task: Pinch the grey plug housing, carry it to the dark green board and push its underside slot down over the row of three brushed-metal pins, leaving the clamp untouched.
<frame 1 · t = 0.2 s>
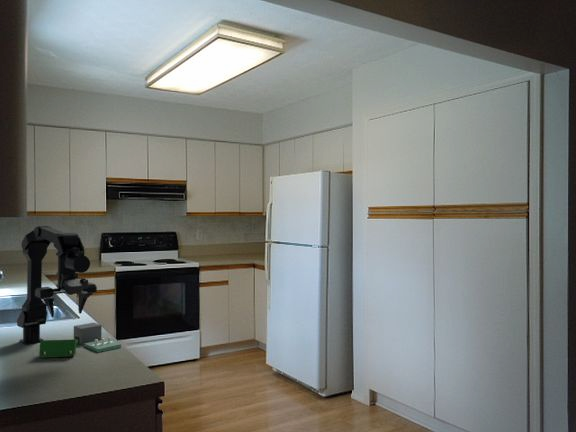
hand: (66, 315, 170), 14 cm above the counter, fingers open, 9 cm apart
plug housing: (87, 341, 190), on the counter
pin board: (102, 347, 183), on the counter
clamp: (59, 355, 173), on the counter
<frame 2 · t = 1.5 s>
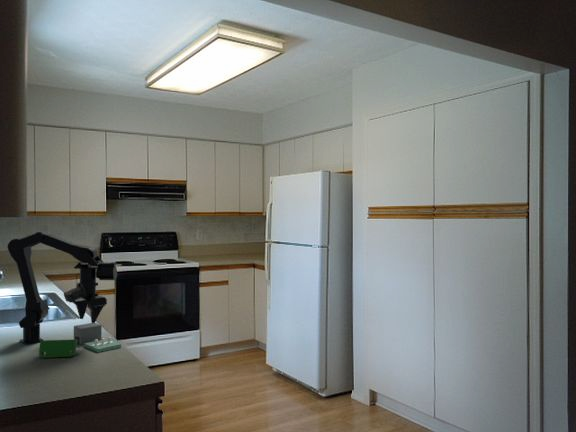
hand: (87, 321, 190), 8 cm above the counter, fingers open, 9 cm apart
nothing on the counter moved.
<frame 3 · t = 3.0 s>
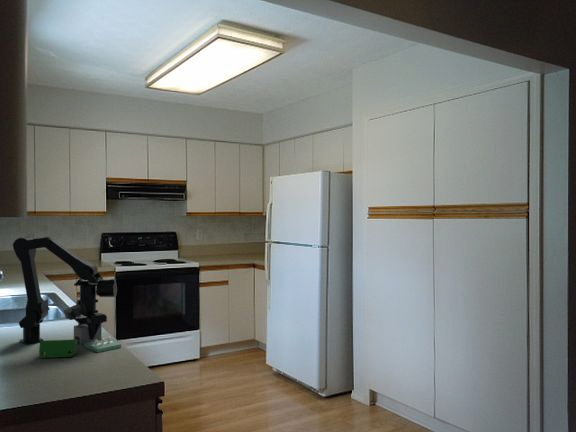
hand: (87, 337, 190), 1 cm above the counter, fingers closed on plug housing, 6 cm apart
plug housing: (87, 341, 190), on the counter, touching gripper
everything else where it was.
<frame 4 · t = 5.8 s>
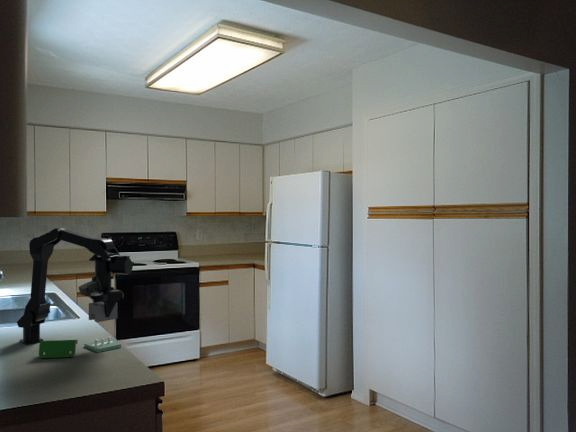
hand: (102, 315, 183), 11 cm above the counter, fingers closed on plug housing, 6 cm apart
plug housing: (103, 319, 183), point 10 cm above the counter, touching gripper
everything else where it was.
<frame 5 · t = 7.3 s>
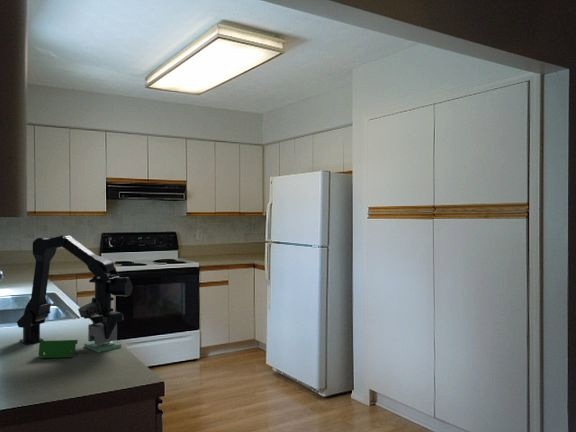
hand: (102, 337, 183), 4 cm above the counter, fingers closed on plug housing, 6 cm apart
plug housing: (102, 340, 183), point 2 cm above the counter, touching gripper
everything else where it was.
when the fingers open (3 cm above the counter, at t = 8.6 s): plug housing stays where it is, resting on pin board.
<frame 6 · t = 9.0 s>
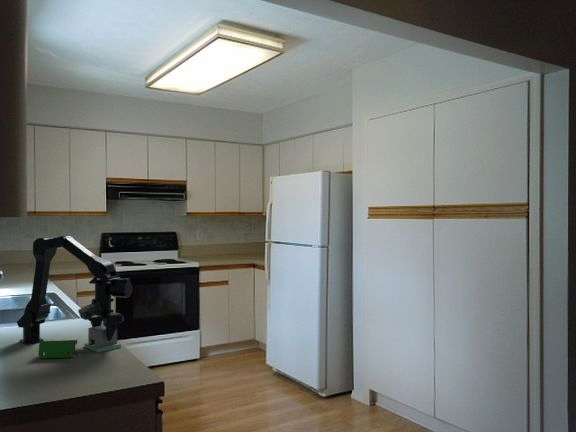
hand: (102, 338, 183), 3 cm above the counter, fingers open, 9 cm apart
plug housing: (102, 343, 183), point 1 cm above the counter, touching pin board
everything else where it was.
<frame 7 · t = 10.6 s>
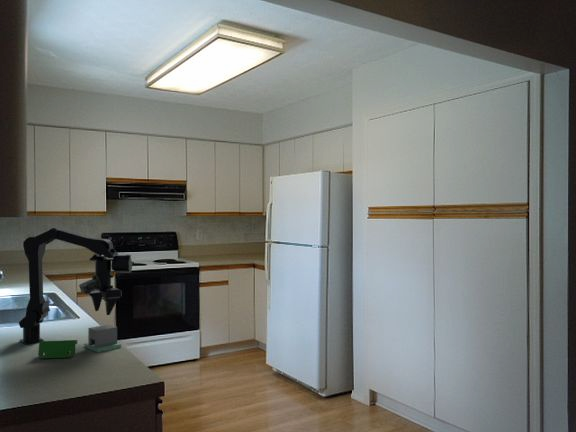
hand: (102, 313, 191), 11 cm above the counter, fingers open, 9 cm apart
nothing on the counter moved.
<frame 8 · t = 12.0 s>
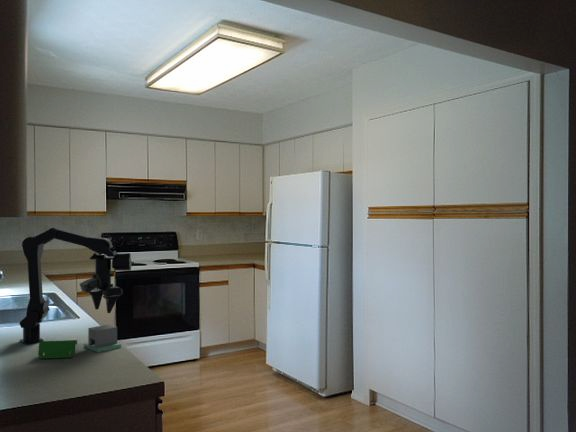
hand: (102, 311, 193), 11 cm above the counter, fingers open, 9 cm apart
at the end: plug housing 0.0 cm off-centre on the pin board, point 1.2 cm above the pin board's base; plug housing tilted 0°; the gripper is holding nothing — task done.
